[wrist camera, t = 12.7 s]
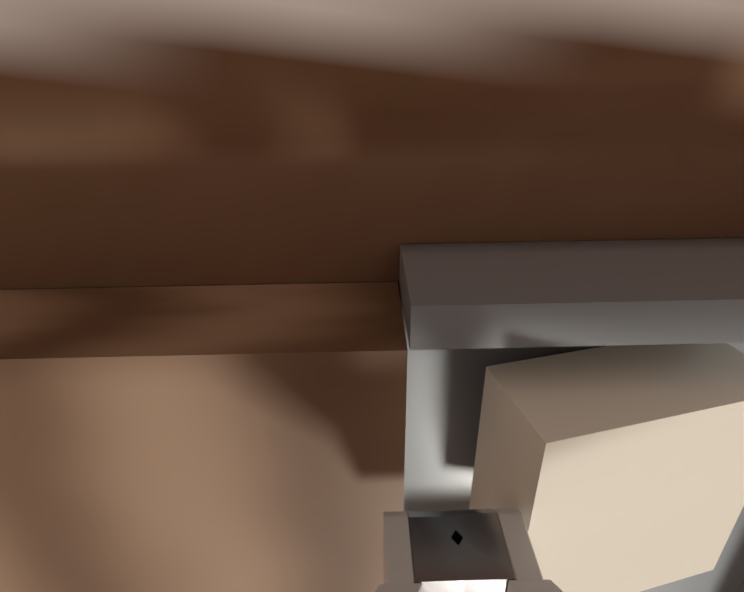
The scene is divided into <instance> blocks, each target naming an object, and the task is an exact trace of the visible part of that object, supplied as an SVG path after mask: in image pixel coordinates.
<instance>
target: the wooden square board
mask: <svg viewBox="0 0 744 592" xmlns="http://www.w3.org/2000/svg"><path fill="white" fill-rule="evenodd" d="M407 354H408V350H407V343H406V336H405V329H404V323H403V316H402V309H401V302H400V295H399V289H398V282H365V283H315V284H265V285H215V286H165V287H115V288H65V289H15V290H0V592H376V590H377V588H378V587H379V585H380V584H384V578H383V512H393V511H403V505H404V467H405V430H406V392H407Z"/></svg>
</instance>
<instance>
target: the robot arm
mask: <svg viewBox="0 0 744 592" xmlns="http://www.w3.org/2000/svg"><path fill="white" fill-rule="evenodd" d="M383 578H384V584H380V585H379V587H378V588H377V590H376V592H563V591H562V590H561V589H560V588H559V587H558V586H557V585H556V584H555V583H554V582H553V581H552V580H547V579H543V577H542V574H541V571H540V568H539V565H538V562H537V558H536V555H535V552H534V549H533V546H532V543H531V540H530V537H529V534H528V531H527V528H526V525H525V522H524V519H523V516H522V513H521V512H520V510H519V509H471V510H449V511H407V512H406V511H393V512H383Z"/></svg>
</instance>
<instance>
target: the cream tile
mask: <svg viewBox="0 0 744 592" xmlns="http://www.w3.org/2000/svg"><path fill="white" fill-rule="evenodd" d="M743 506H744V354H743V353H742V352H740V351H739V350H737V349H736V348H734V347H733V346H731V345H729V344H728V343H705V344H660V345H615V346H603V347H597V348H591V349H585V350H579V351H573V352H568V353H562V354H556V355H550V356H544V357H539V358H533V359H527V360H521V361H515V362H510V363H504V364H498V365H492V366H486V373H485V381H484V389H483V397H482V406H481V414H480V422H479V431H478V439H477V447H476V455H475V464H474V472H473V480H472V488H471V497H470V505H469V510H471V509H519V510H520V512H521V513H522V516H523V519H524V522H525V525H526V528H527V531H528V534H529V537H530V540H531V543H532V546H533V549H534V552H535V555H536V558H537V562H538V565H539V568H540V571H541V574H542V577H543V579H547V580H552V581H553V582H554V583H555V584H556V585H557V586H558V587H559V588H560V589H561V590H562V591H563V592H641V591H644V590H647V589H651V588H654V587H657V586H661V585H664V584H667V583H671V582H674V581H677V580H681V579H684V578H687V577H691V576H694V575H697V574H701V573H704V572H707V571H711V570H713V569H714V567H715V565H716V563H717V561H718V559H719V557H720V555H721V553H722V550H723V548H724V546H725V544H726V542H727V540H728V538H729V536H730V534H731V531H732V529H733V527H734V525H735V523H736V521H737V519H738V517H739V515H740V513H741V510H742V508H743Z"/></svg>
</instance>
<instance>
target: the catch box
mask: <svg viewBox="0 0 744 592" xmlns="http://www.w3.org/2000/svg"><path fill="white" fill-rule="evenodd" d="M399 295H400V302H401V309H402V316H403V323H404V329H405V336H406V343H407V350H408V354H407V392H406V430H405V467H404V505H403V511H406V512H407V511H449V510H469V505H470V497H471V488H472V480H473V472H474V464H475V455H476V447H477V439H478V431H479V422H480V414H481V406H482V397H483V389H484V381H485V373H486V366H492V365H498V364H504V363H510V362H515V361H521V360H527V359H533V358H539V357H544V356H550V355H556V354H562V353H568V352H573V351H579V350H585V349H591V348H597V347H603V346H615V345H660V344H705V343H728V344H729V345H731V346H733V347H734V348H736V349H737V350H739V351H740V352H742V353H743V354H744V238H706V239H652V240H599V241H546V242H493V243H440V244H400V275H399ZM641 592H744V506H743V508H742V510H741V513H740V515H739V517H738V519H737V521H736V523H735V525H734V527H733V529H732V531H731V534H730V536H729V538H728V540H727V542H726V544H725V546H724V548H723V550H722V553H721V555H720V557H719V559H718V561H717V563H716V565H715V567H714V569H713V570H711V571H707V572H704V573H701V574H697V575H694V576H691V577H687V578H684V579H681V580H677V581H674V582H671V583H667V584H664V585H661V586H657V587H654V588H651V589H647V590H644V591H641Z"/></svg>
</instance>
